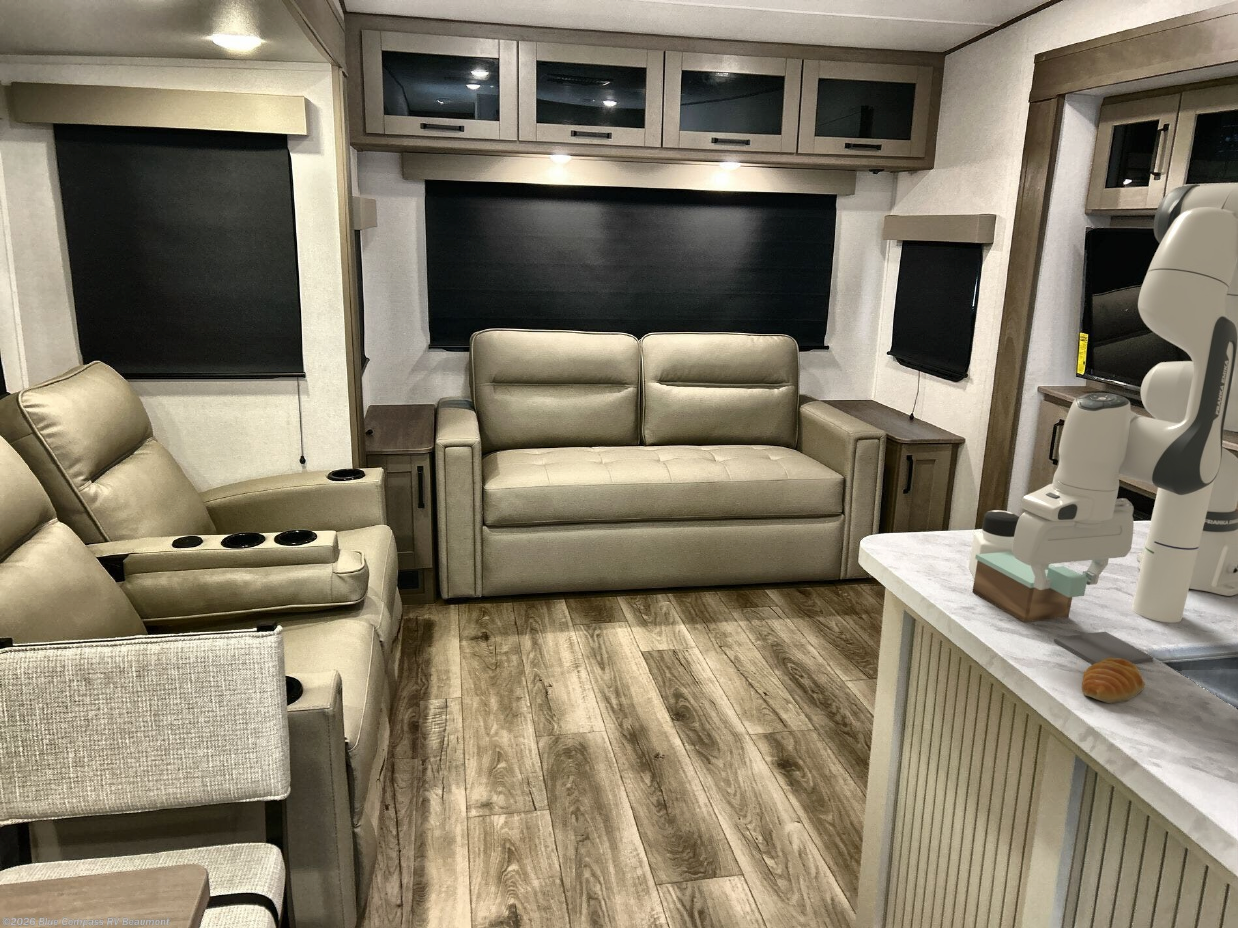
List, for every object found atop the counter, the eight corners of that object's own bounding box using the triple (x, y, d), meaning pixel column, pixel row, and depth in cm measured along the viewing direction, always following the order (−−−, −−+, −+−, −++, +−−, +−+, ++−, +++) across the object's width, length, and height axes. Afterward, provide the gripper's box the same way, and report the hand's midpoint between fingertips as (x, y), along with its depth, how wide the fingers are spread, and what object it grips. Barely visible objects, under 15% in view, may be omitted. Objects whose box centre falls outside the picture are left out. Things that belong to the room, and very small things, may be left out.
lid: (1020, 554, 153) (1023, 538, 153) (1100, 594, 138) (1104, 575, 137) (975, 558, 150) (977, 541, 150) (1051, 599, 135) (1055, 580, 134)
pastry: (1120, 714, 115) (1126, 687, 114) (1066, 693, 120) (1071, 667, 119) (1146, 691, 121) (1151, 666, 120) (1094, 672, 126) (1098, 648, 125)
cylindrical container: (1164, 625, 142) (1199, 475, 136) (1122, 607, 148) (1153, 463, 142) (1191, 618, 146) (1226, 471, 139) (1148, 601, 152) (1180, 460, 145)
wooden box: (1014, 587, 155) (1020, 555, 153) (1068, 616, 144) (1075, 582, 142) (972, 592, 152) (977, 559, 150) (1023, 622, 141) (1030, 586, 139)
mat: (1104, 634, 138) (1105, 631, 138) (1152, 660, 130) (1153, 657, 130) (1053, 641, 134) (1054, 637, 134) (1099, 668, 127) (1100, 664, 126)
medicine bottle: (1018, 587, 155) (1029, 522, 152) (974, 582, 156) (985, 517, 153) (1009, 572, 162) (1020, 509, 159) (967, 567, 163) (978, 505, 160)
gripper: (1117, 491, 141) (1100, 573, 144) (1013, 498, 134) (998, 583, 138) (1152, 503, 135) (1133, 588, 139) (1044, 511, 129) (1028, 599, 132)
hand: (1065, 585), depth 138 cm, fingers open, 8 cm apart
